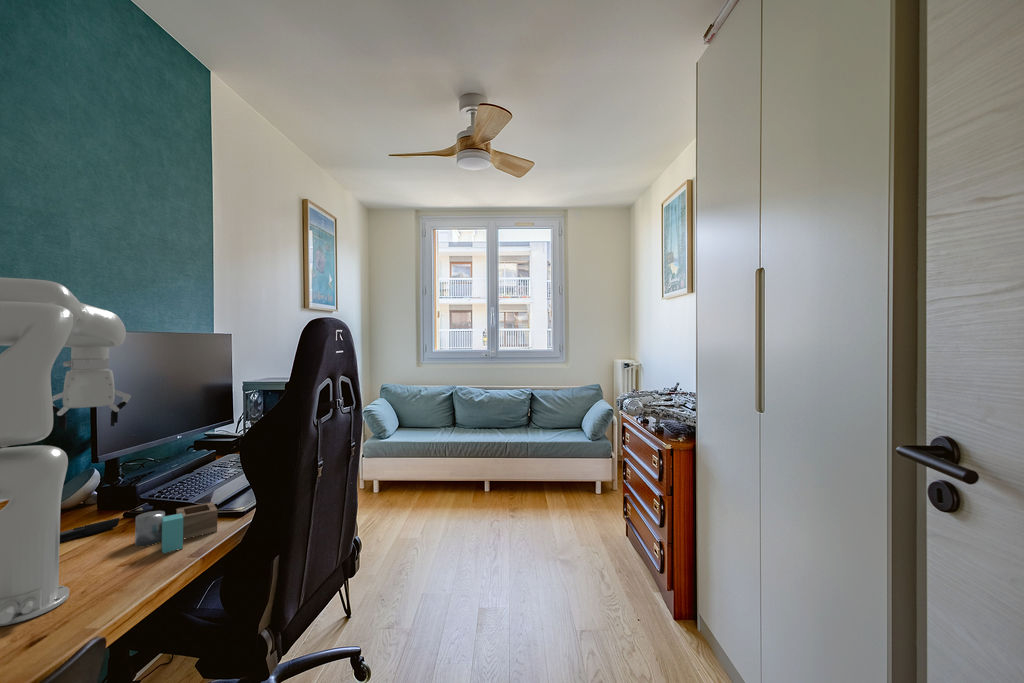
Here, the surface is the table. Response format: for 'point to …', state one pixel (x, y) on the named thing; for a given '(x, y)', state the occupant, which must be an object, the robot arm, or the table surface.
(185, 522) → the block
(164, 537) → the square peg
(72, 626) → the table surface
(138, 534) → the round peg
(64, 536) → the electric trimmer
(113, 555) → the table surface
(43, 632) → the table surface
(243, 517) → the table surface
